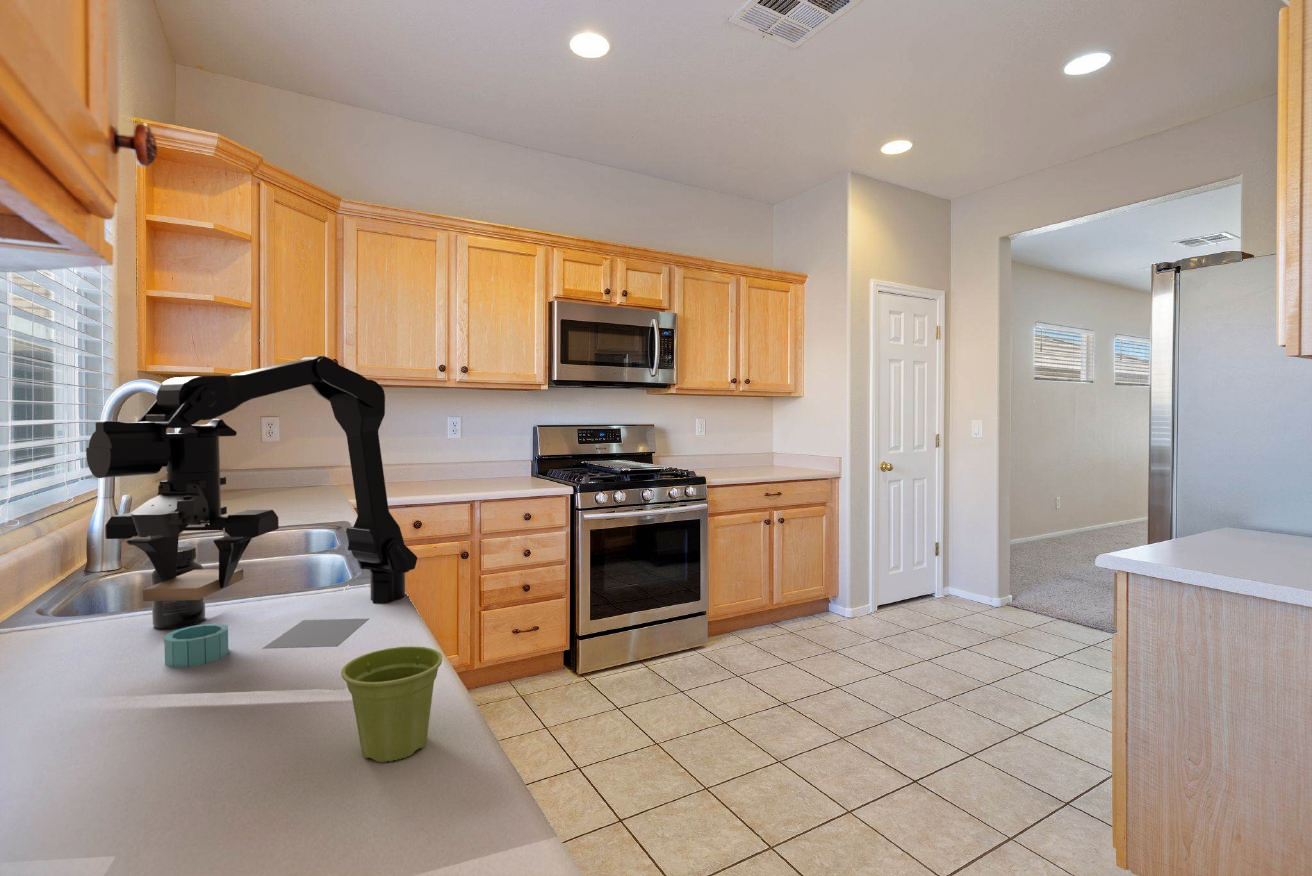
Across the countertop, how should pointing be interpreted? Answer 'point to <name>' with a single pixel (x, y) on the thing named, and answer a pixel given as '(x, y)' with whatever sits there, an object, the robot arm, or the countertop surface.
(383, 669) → the plant pot
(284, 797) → the countertop surface
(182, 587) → the walnut board
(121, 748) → the countertop surface
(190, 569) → the supplement bottle
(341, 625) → the trivet
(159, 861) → the countertop surface
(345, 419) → the robot arm
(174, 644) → the ramekin
